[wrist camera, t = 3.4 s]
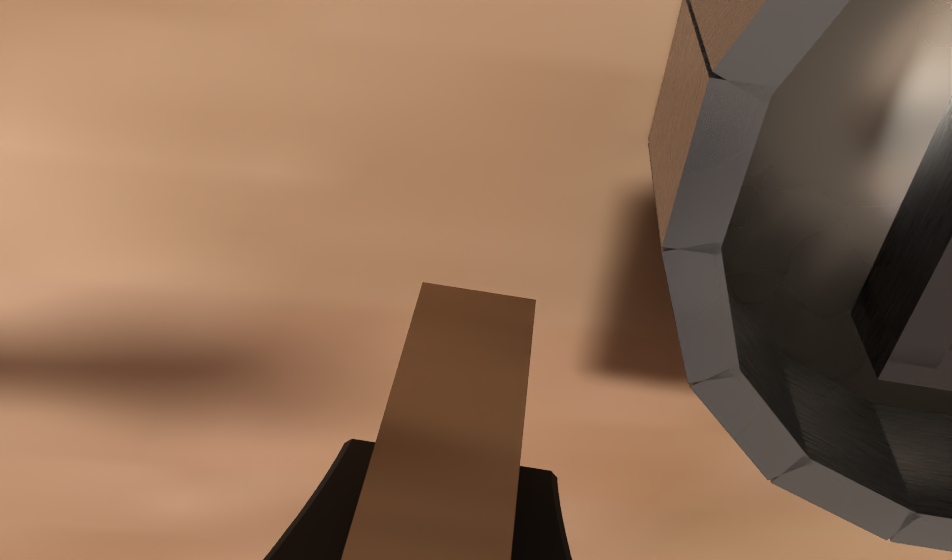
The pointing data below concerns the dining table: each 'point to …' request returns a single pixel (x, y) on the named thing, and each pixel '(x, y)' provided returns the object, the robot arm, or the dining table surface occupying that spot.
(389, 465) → the tan wooden block
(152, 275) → the dining table surface
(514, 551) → the robot arm
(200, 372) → the dining table surface
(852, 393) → the grey metal bowl
